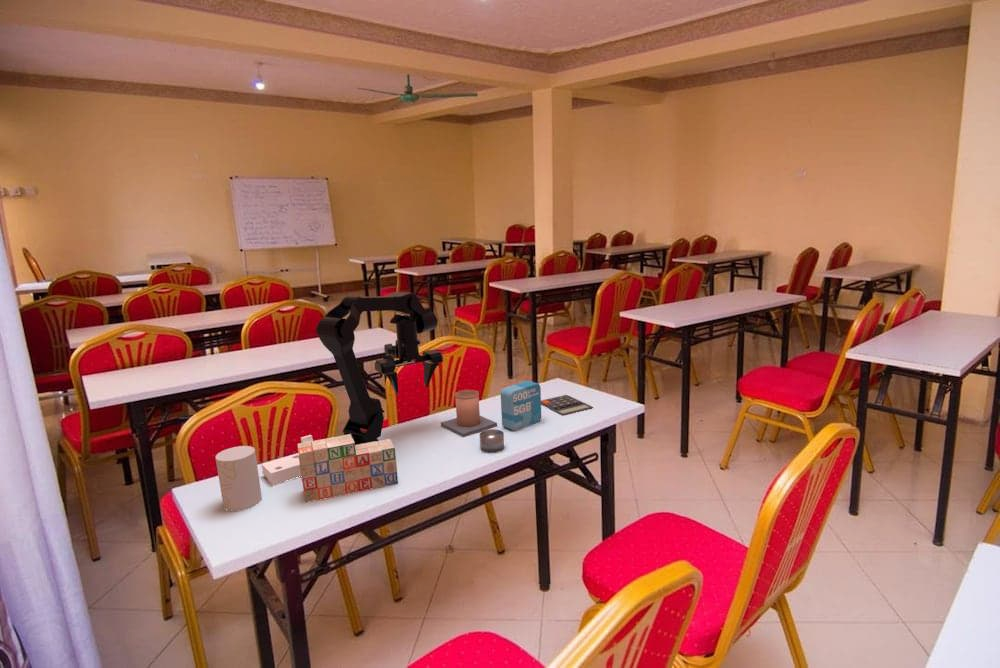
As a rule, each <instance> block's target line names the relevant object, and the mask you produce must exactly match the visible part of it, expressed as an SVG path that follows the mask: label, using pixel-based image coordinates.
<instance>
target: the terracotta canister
mask: <svg viewBox="0 0 1000 668" xmlns="http://www.w3.org/2000/svg"><path fill="white" fill-rule="evenodd" d="M479 396H480V393H479V391H478V390H474V389H464V390H463V389H462V390H459V391H457V392H454V398H455V412H456V413H455V414H456V415H455V416H456V418H457V425H459V426H462V427H471V426H476V425H478V424H479V423H480V416H481V415H480V414H481V413H480V397H479Z"/></svg>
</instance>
